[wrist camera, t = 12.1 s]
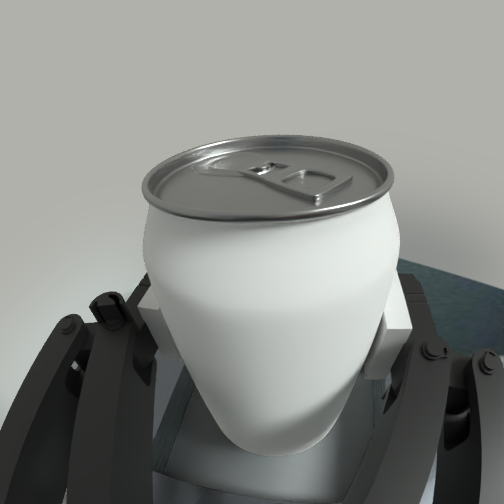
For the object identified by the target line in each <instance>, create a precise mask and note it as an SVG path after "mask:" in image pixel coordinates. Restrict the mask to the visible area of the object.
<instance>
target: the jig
mask: <svg viewBox="0 0 504 504" xmlns="http://www.w3.org/2000/svg"><path fill="white" fill-rule="evenodd" d="M154 357H155V358H156V360H157V373H156V386H155V400H154V419H153V504H341V503H302V502H287V501H277V500H268V499H260V498H253V497H247V496H242V495H236V494H231V493H226V492H222V491H217V490H213V489H209V488H205V487H201V486H197V485H194V484H190V483H187V482H184V481H180V480H177V479H174V478H171V477H168V476H165V475H162V474H163V471H164V468H165V466H166V463H167V460H168V457H169V454H170V452H171V449H172V446H173V443H174V441H175V438H176V435H177V432H178V429H179V427H180V424H181V421H182V418H183V416H184V413H185V410H186V407H187V405H188V402H189V399H190V396H191V394H192V391H193V388H194V386H195V383H194V381H193V379H192V377H191V375H190V373H189V371H188V369H187V367H186V365H185V363H184V361H183V359H182V360H181V361H179V360H174V359H169V358H165V357H163V356H162V354H161V353H160V351H159V349H158V350H157V352H156V354H155V356H154ZM391 382H392V381H391V371H390V373H389V374H388V376H387V378H386V379H376V380H372V384H373V417H374V429H375V426H376V424H377V421H378V418H379V415H380V412H381V409H382V406H383V402H384V400H383V399H381V398H382V396H383V394H384V393H385V391H386V390H387V388H388V387H389V385H390V384H391ZM436 463H437V451H436V455H435V458H434V462H433V465H432V469H431V472H430V475H429V478H428V481H427V484H426V487H425V490H424V493H423V495H422V498H421V501H420V503H419V504H432V503H433V495H434V487H435V477H436Z"/></svg>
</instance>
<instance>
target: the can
mask: <svg viewBox="0 0 504 504" xmlns="http://www.w3.org/2000/svg"><path fill="white" fill-rule="evenodd" d="M393 182H394V172H393V169H392V167H391V166H390V164H389V163H388V162H387V161H386V160H385V159H383V158H382V157H381V156H379V155H378V154H376V153H374V152H372V151H370V150H368V149H365V148H363V147H360V146H357V145H354V144H351V143H347V142H343V141H339V140H333V139H329V138H322V137H313V136H302V135H263V136H252V137H251V136H250V137H242V138H235V139H229V140H224V141H218V142H214V143H210V144H206V145H202V146H199V147H195V148H192V149H189V150H187V151H184V152H182V153H179V154H177V155H175V156H172V157H171V158H168V159H167V160H165V161H163V162H161V163H160V164H158V165H157V166H156V167H154V168H153V169H152V170H151V171H150V172H149V173H148V174H147V175H146V177H145V178H144V180H143V182H142V193H143V196H144V198H145V199H146V200H147V201H148V203H149V211H148V216H147V220H146V225H145V232H144V238H143V257H144V262H145V266H146V270H147V273H148V276H149V279H150V282H151V285H152V288H153V291H154V294H155V296H156V299H157V301H158V304H159V306H160V309H161V311H162V314H163V316H164V319H165V321H166V324H167V326H168V328H169V330H170V333H171V335H172V337H173V339H174V342H175V344H176V346H177V348H178V350H179V353H180V355H181V357H182V359H183V361H184V363H185V365H186V367H187V369H188V371H189V373H190V375H191V377H192V379H193V381H194V383H195V385H196V387H197V389H198V391H199V392H200V394H201V396H202V398H203V400H204V402H205V403H206V405H207V407H208V409H209V411H210V412H211V414H212V416H213V418H214V419H215V421H216V422H217V424H218V426H219V427H220V429H221V430H222V432H223V433H224V434H225V435H226V436H227V437H228V438H229V439H230V440H231V441H232V442H233V443H234V444H236V445H237V446H238V447H240V448H242V449H244V450H246V451H248V452H251V453H253V454H257V455H261V456H268V457H283V456H289V455H294V454H297V453H300V452H303V451H305V450H307V449H309V448H311V447H312V446H314V445H315V444H317V443H318V442H319V441H321V440H322V439H323V438H324V437H325V436H326V435H327V434H328V432H329V431H330V430H331V428H332V427H333V425H334V424H335V422H336V420H337V419H338V417H339V415H340V413H341V411H342V409H343V407H344V405H345V403H346V401H347V399H348V397H349V395H350V393H351V391H352V389H353V387H354V385H355V383H356V380H357V378H358V376H359V374H360V371H361V369H362V367H363V364H364V362H365V360H366V357H367V355H368V352H369V350H370V347H371V345H372V342H373V339H374V337H375V334H376V331H377V329H378V326H379V323H380V320H381V317H382V314H383V311H384V308H385V305H386V302H387V299H388V295H389V292H390V289H391V285H392V282H393V278H394V274H395V270H396V266H397V261H398V256H399V248H400V235H399V229H398V224H397V220H396V216H395V213H394V210H393V206H392V203H391V200H390V197H389V190H390V188H391V187H392V184H393Z"/></svg>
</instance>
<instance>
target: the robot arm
mask: <svg viewBox="0 0 504 504" xmlns="http://www.w3.org/2000/svg"><path fill="white" fill-rule="evenodd" d="M89 308H90V310H91V311H92V313H93V315H94V316H95V318H96V320H97V321H98V322H95V323H84V322H83V320H82V318H81V317H80V316H79V315H77V314H70V315H68V316H65V317H64V318H62V319H61V320H60V321H59V323H57V325H56V326H55V328H54V330H53V331H52V333H51V334H50V336H49V338H48V339H47V341H46V342H45V344H44V346H43V347H42V349H41V351H40V352H39V354H38V356H37V358H36V359H35V361H34V363H33V365H32V366H31V368H30V370H29V372H28V374H27V376H26V377H25V379H24V381H23V383H22V385H21V387H20V389H19V391H18V393H17V395H16V397H15V399H14V401H13V403H12V406H11V408H10V410H9V412H8V414H7V416H6V419H5V421H4V423H3V426H2V428H1V430H0V504H62V502H63V498H64V495H65V491H66V488H67V504H153V419H154V400H155V386H156V373H157V360H156V358H155V357H154V356H155V354H156V352H157V350H158V349H159V351H160V353H161V354H162V356H163V357H165V358H169V359H174V360H179V361H181V360H182V357H181V355H180V353H179V350H178V348H177V346H176V344H175V342H174V339H173V337H172V335H171V333H170V330H169V328H168V326H167V324H166V321H165V319H164V316H163V314H162V311H161V309H160V306H159V304H158V301H157V299H156V296H155V294H154V291H153V288H152V285H151V282H150V279H149V276H148V273H146V274H145V276H144V279H142V280H141V281H140V283H139V286H137V287H136V288H135V290H134V291H133V293H132V294H131V296H130V297H129V299H128V300H127V302H126V303H125V301H124V299H123V297H122V295H121V294H119V293H117V292H106V293H103V294H101V295H99V296H98V297H96V298H95V299H94V300H93V301H92V302H91V304H90V306H89ZM74 361H75V362H76V363H77V364H78V365H79V366H78V367H77V368H76V369H75V370H74V369H73V368H72V367H71V366H72V364H73V362H74ZM364 371H365V380H376V379H386V378H387V376H388V374H389V373H390V371H391V381H392V382H391V384H390V385H389V387H388V388H387V390H386V391H385V393H384V394H383V396H382V398H381V399H383V400H384V402H383V406H382V409H381V412H380V415H379V418H378V421H377V424H376V426H375V429H374V432H373V435H372V437H371V440H370V442H369V445H368V447H367V450H366V452H365V455H364V457H363V459H362V462H361V464H360V466H359V469H358V471H357V473H356V475H355V477H354V479H353V482H352V484H351V486H350V488H349V490H348V492H347V494H346V496H345V497H344V499H343V501H342V503H341V504H419V503H420V501H421V498H422V495H423V493H424V490H425V487H426V484H427V481H428V478H429V475H430V472H431V469H432V465H433V462H434V458H435V455H436V451H437V463H436V477H435V487H434V495H433V503H432V504H504V368H503V364H502V361H501V359H500V357H499V356H498V355H497V353H496V352H494V351H493V350H491V349H488V348H481V349H478V350H477V351H476V352H475V353H474V354H473V356H468V355H464V354H460V353H456V352H454V351H451V349H450V347H449V345H448V344H447V342H446V341H445V340H444V339H442V338H441V337H439V336H438V335H437V332H436V329H435V325H434V322H433V319H432V316H431V312H430V309H429V306H428V304H427V300H426V297H425V295H424V292H423V289H422V286H421V283H420V282H419V281H418V280H417V279H416V278H415V276H414V275H413V274H397V271H396V270H395V274H394V278H393V282H392V285H391V289H390V292H389V295H388V299H387V302H386V305H385V308H384V311H383V314H382V317H381V320H380V323H379V326H378V329H377V331H376V334H375V337H374V339H373V342H372V345H371V347H370V350H369V352H368V355H367V357H366V360H365V362H364Z"/></svg>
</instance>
